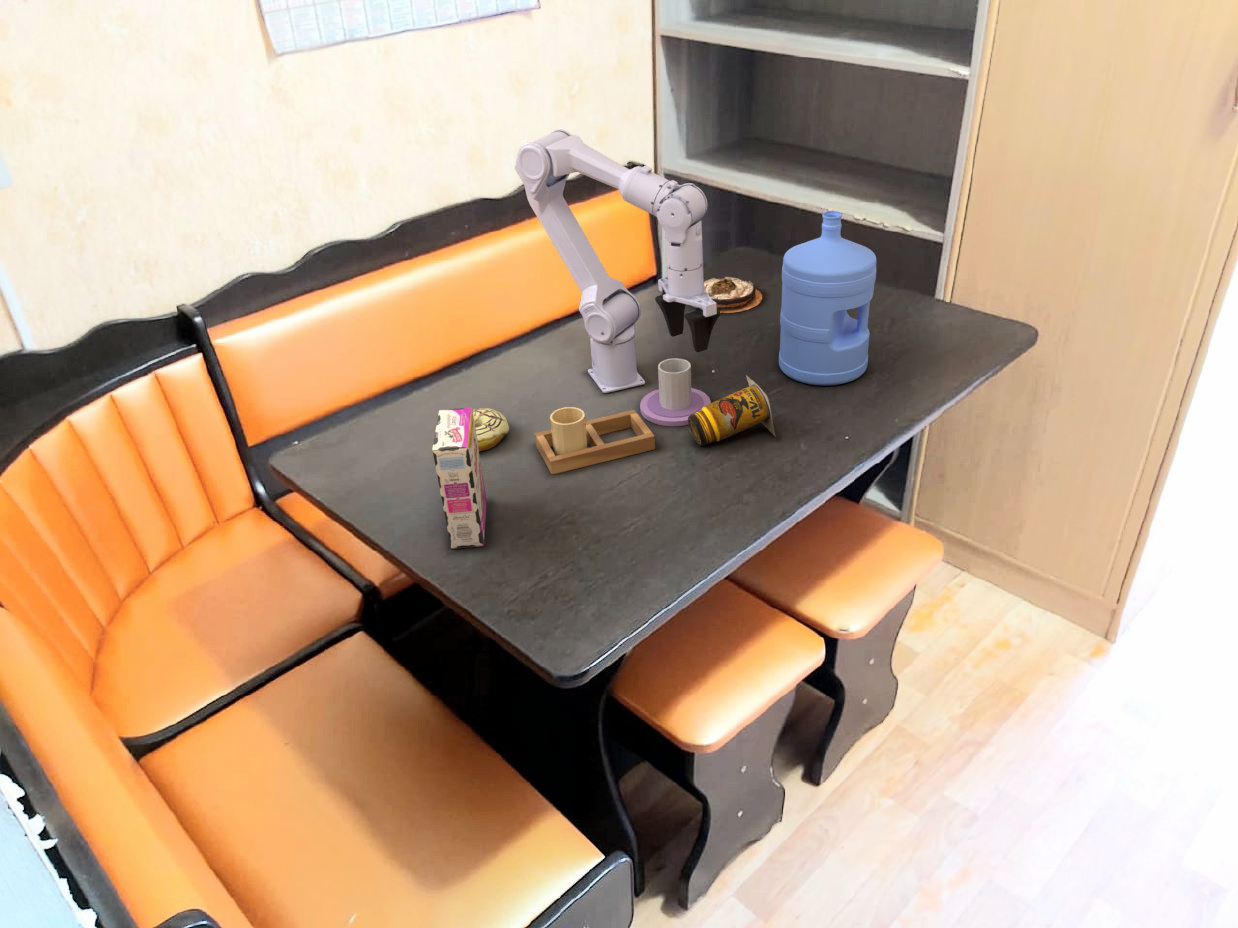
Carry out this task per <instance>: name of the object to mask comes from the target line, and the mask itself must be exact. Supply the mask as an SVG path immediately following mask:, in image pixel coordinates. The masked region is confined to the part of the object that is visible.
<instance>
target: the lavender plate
mask: <svg viewBox="0 0 1238 928" xmlns="http://www.w3.org/2000/svg"><path fill="white" fill-rule="evenodd" d="M691 397H692V403H691V405H690V406H689V407H687V408H685V409H682V410H668V409H665V408H663V407H662V406H661V405H660V400H659V388H658V389H655V390H652V391H650V392H649V393H647V394H646V395H645V396H643V397H642V398H641V400H640V403H639V410H640V414H641V415H642V417H643V418H644V419H646V421H648V422H650V423H652V424H655V425H657V426H662V427H664V426H665V427H683V426H689V424H688V417H689V416H690V415H692V414H694V413H696V412H698V411H701V410H702V408H703V407H704V406H706V405H708V404H710V403H712V401H711V398H710V396H709V395H708V394H706V393H705V392H704V391H702V390H700V389H697V388H694V387H691Z"/></svg>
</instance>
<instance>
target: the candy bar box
mask: <svg viewBox="0 0 1238 928" xmlns="http://www.w3.org/2000/svg"><path fill="white" fill-rule="evenodd" d="M472 409H473V407H460V408H452V409H440V410H438V414H437V420H436V426H435V431H434V437H433V443H432V451H431V452H432V456H433V461H434V466H435V471H436V476H437V481H438V488H439V493H440V497H441V503H442V509H443V513H444V514H443V515H444V518H445V524H446V530H447V534H448V540H449V545H450V549H452V550H454V549H455V550H456V549H457V550H458V549H467V548H480V547H484V546H485V534H486V521H487V520H486V517H487V504H488V500H487V493H486V489H485V481H484V475H483V469H482V463H481V457H480V451H479V449H478V442H477V436H476V429H475V423H474V417H473V410H472Z"/></svg>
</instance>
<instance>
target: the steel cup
mask: <svg viewBox="0 0 1238 928" xmlns="http://www.w3.org/2000/svg"><path fill="white" fill-rule="evenodd" d="M691 366H692V364H691V362H690V361H689V360H686V359H684V358H678V357H676V358H675V357H674V358H668V359H667V358H666V359H664V360H662V361H660V362H659V363H658V365H657V375H658V389H659V400H660V405H661V406H662V407H663V408H665V409H668V410H682V409H685V408H687V407H689V406H690V405H691V403H692V397H691V388H692V367H691Z"/></svg>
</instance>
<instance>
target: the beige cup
mask: <svg viewBox="0 0 1238 928" xmlns="http://www.w3.org/2000/svg"><path fill="white" fill-rule="evenodd" d="M586 421H587V420H586V413H585V412H584V410H583V409H581V408H580V407H576V406H575V407H574V406H565V407H561V408H558V409H555V410H553V411H552V412H551V414H550V415H549V422H550V423H549V424H550V430H551V432H552V440H553V446H552V448H553V453H554V454H555V456H558V455H562V454H566V453H570V452H574V451H578V450H582V449H587V448H589V443H588V441H587V430H586Z"/></svg>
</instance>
